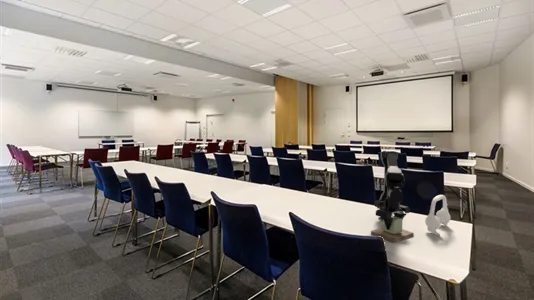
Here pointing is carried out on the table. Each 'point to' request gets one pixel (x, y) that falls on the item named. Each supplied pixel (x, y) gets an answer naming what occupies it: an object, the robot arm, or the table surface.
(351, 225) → the table surface
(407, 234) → the brown rectangular block
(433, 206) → the headset
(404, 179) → the robot arm
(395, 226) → the sage green cube
